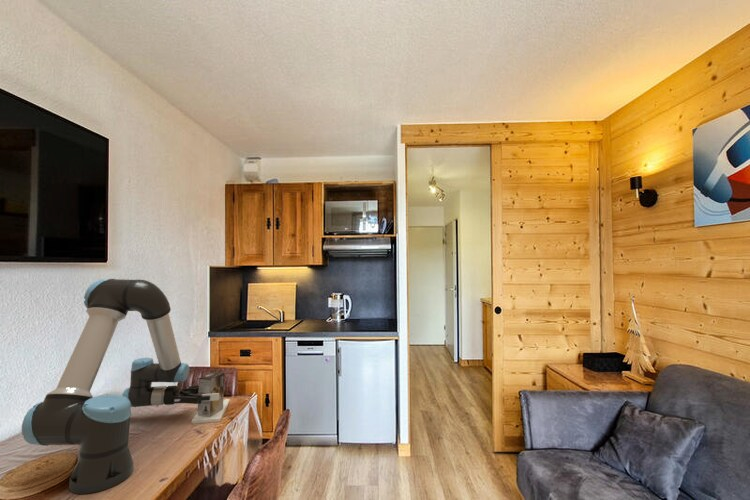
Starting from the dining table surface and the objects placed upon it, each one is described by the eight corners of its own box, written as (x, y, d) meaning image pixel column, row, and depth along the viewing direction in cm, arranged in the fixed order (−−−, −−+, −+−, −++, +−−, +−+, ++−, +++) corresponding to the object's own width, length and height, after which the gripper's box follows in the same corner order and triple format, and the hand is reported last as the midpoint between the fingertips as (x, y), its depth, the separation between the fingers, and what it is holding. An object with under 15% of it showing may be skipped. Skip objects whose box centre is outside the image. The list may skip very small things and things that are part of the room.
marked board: (220, 421, 140) (220, 418, 140) (191, 423, 138) (191, 420, 138) (229, 401, 162) (229, 398, 162) (205, 403, 159) (205, 400, 159)
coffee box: (210, 407, 151) (212, 371, 152) (223, 408, 150) (225, 372, 151) (196, 415, 142) (198, 377, 143) (209, 417, 141) (211, 378, 142)
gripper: (174, 394, 153) (226, 391, 158) (154, 415, 131) (215, 411, 136) (175, 378, 153) (227, 375, 159) (155, 396, 131) (216, 392, 137)
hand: (221, 392), depth 147 cm, fingers closed on coffee box, 10 cm apart
